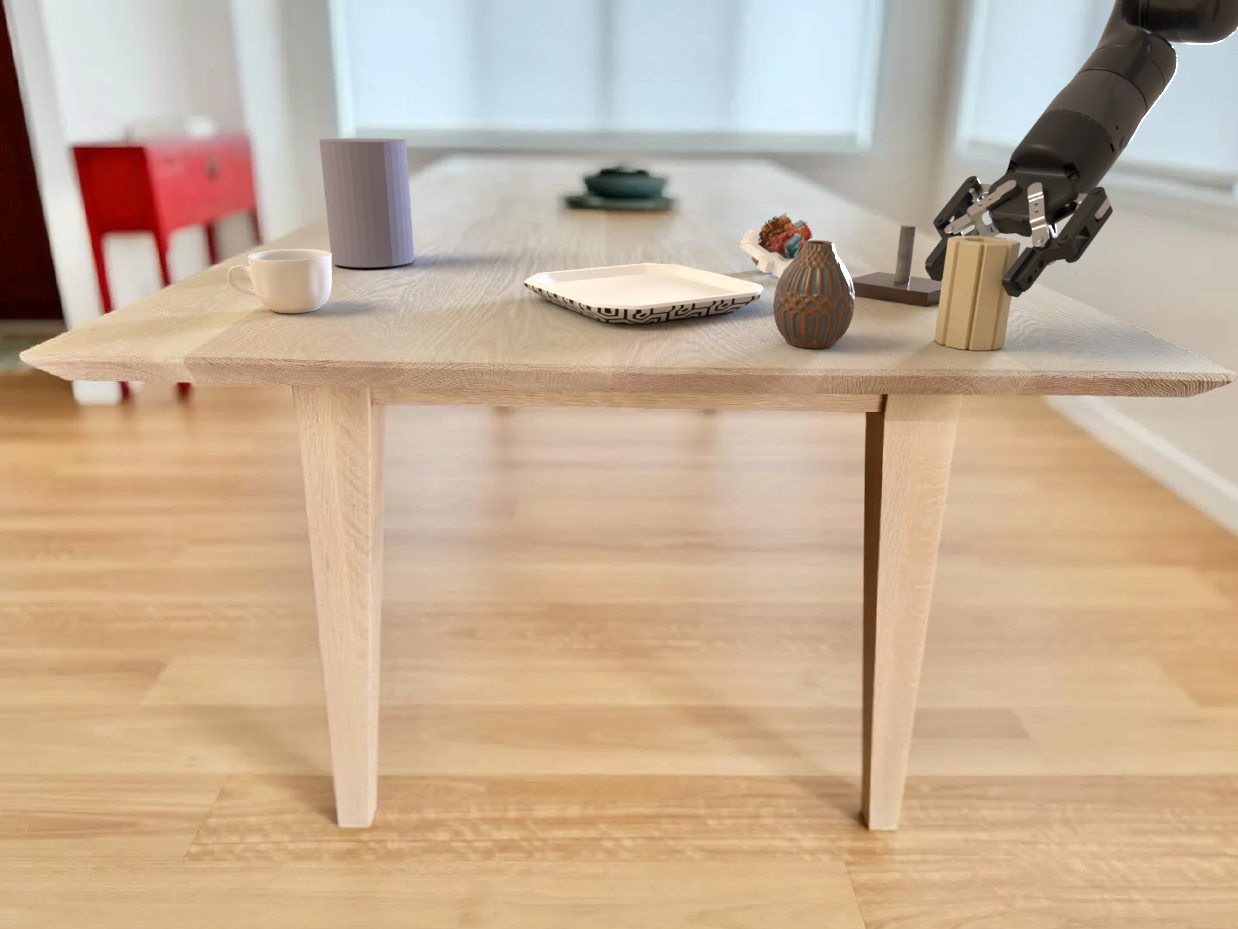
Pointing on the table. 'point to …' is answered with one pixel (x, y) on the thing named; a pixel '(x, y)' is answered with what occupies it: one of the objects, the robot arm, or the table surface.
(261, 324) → the table surface
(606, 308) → the plate
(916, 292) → the peg stand
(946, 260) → the fluted hollow cylinder
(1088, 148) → the robot arm
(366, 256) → the container
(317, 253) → the teacup
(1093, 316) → the table surface
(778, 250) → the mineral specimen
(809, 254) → the vase
